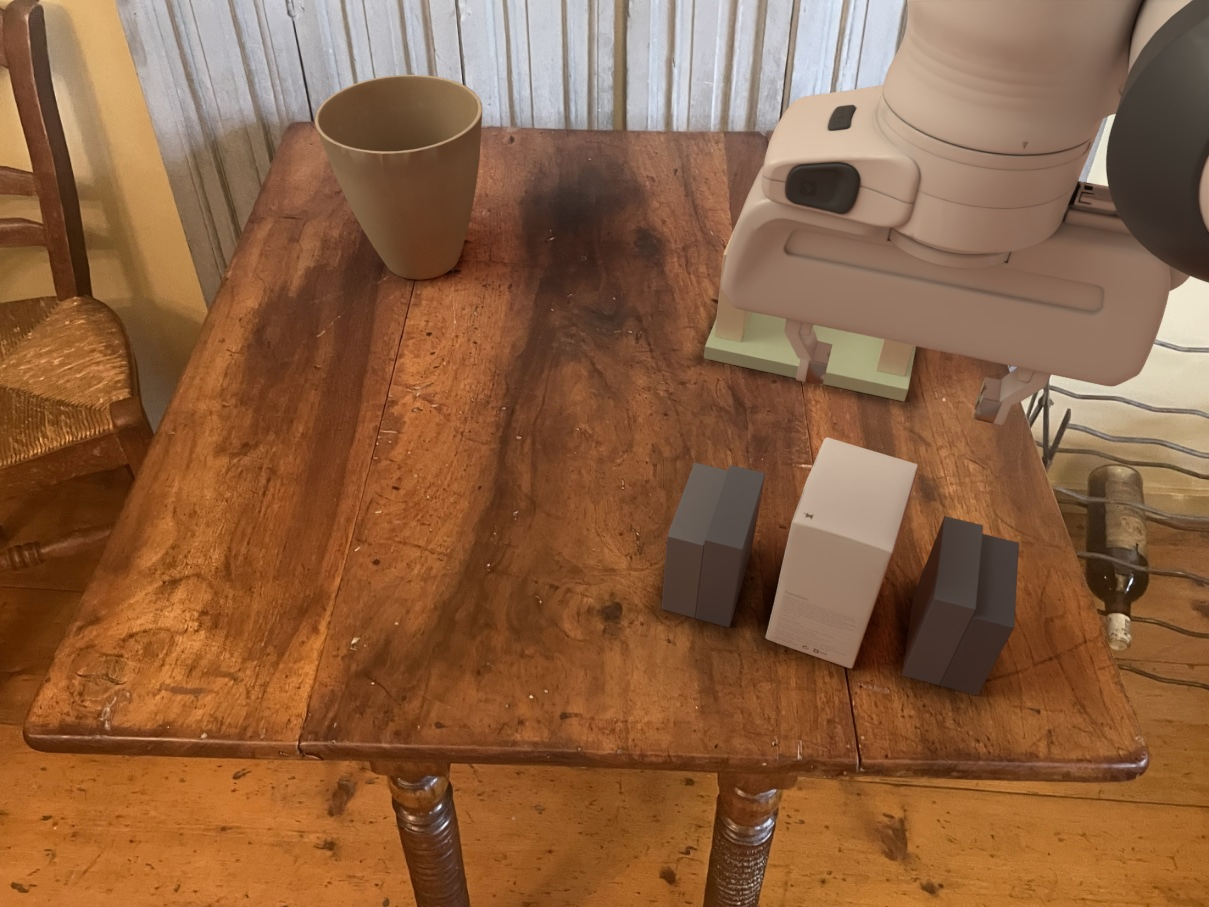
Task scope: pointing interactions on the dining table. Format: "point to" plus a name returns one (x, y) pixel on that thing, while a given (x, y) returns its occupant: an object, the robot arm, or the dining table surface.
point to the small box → (839, 550)
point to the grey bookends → (942, 603)
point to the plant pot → (407, 166)
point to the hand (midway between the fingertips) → (898, 395)
